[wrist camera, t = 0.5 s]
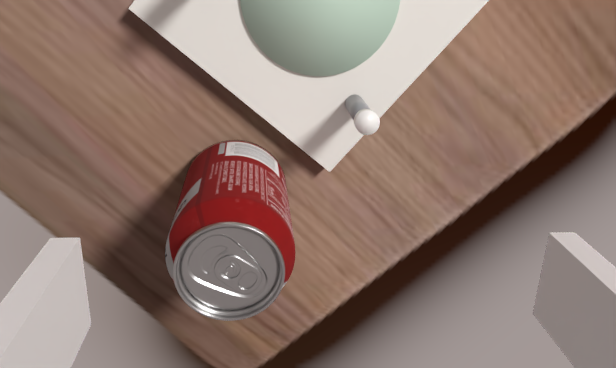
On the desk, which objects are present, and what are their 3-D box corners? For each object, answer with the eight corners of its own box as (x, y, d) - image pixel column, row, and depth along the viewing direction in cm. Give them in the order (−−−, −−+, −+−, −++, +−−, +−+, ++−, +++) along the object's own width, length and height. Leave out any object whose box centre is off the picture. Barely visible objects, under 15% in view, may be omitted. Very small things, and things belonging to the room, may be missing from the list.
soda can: (224, 116, 37) (212, 185, 26) (304, 174, 39) (325, 260, 28) (167, 192, 39) (132, 288, 27) (246, 244, 41) (244, 352, 29)
